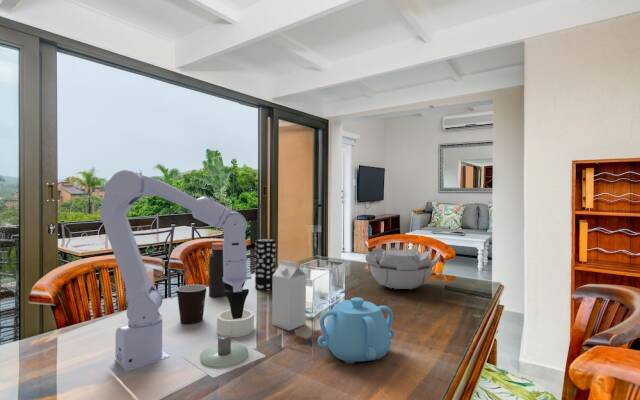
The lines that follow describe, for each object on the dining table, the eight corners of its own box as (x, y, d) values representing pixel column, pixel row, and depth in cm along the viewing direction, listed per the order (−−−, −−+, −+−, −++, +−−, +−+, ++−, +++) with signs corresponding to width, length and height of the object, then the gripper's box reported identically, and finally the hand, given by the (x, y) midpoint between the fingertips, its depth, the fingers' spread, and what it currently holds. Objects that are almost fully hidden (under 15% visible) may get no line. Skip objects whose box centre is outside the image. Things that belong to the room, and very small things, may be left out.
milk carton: (288, 319, 110) (289, 258, 110) (305, 324, 106) (306, 261, 105) (271, 325, 105) (272, 261, 104) (289, 331, 100) (289, 265, 100)
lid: (215, 372, 76) (215, 352, 76) (191, 356, 83) (191, 338, 83) (257, 355, 84) (257, 337, 84) (231, 342, 91) (231, 325, 91)
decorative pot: (370, 378, 75) (371, 314, 75) (310, 356, 85) (311, 300, 84) (400, 351, 88) (401, 297, 88) (346, 335, 98) (346, 286, 98)
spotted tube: (252, 286, 148) (253, 239, 148) (271, 284, 152) (272, 238, 152) (258, 291, 141) (258, 241, 141) (278, 289, 144) (278, 240, 144)
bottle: (222, 298, 132) (222, 244, 132) (205, 297, 133) (205, 244, 133) (230, 293, 139) (230, 242, 138) (213, 292, 140) (214, 241, 139)
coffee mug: (196, 326, 103) (196, 292, 103) (170, 324, 105) (170, 290, 105) (216, 313, 115) (216, 283, 114) (192, 311, 116) (192, 281, 116)
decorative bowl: (351, 281, 159) (352, 248, 159) (409, 277, 168) (409, 246, 168) (383, 300, 130) (383, 260, 130) (451, 294, 139) (451, 256, 139)
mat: (213, 380, 74) (213, 377, 74) (182, 358, 83) (182, 356, 83) (266, 357, 84) (266, 355, 84) (233, 341, 93) (233, 339, 93)
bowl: (229, 342, 93) (230, 323, 92) (210, 332, 99) (210, 314, 99) (260, 332, 100) (260, 314, 100) (240, 323, 107) (240, 306, 107)
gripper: (254, 263, 83) (255, 320, 83) (247, 253, 97) (248, 302, 97) (223, 266, 81) (224, 324, 81) (221, 255, 95) (222, 305, 95)
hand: (236, 313), depth 89 cm, fingers open, 7 cm apart
